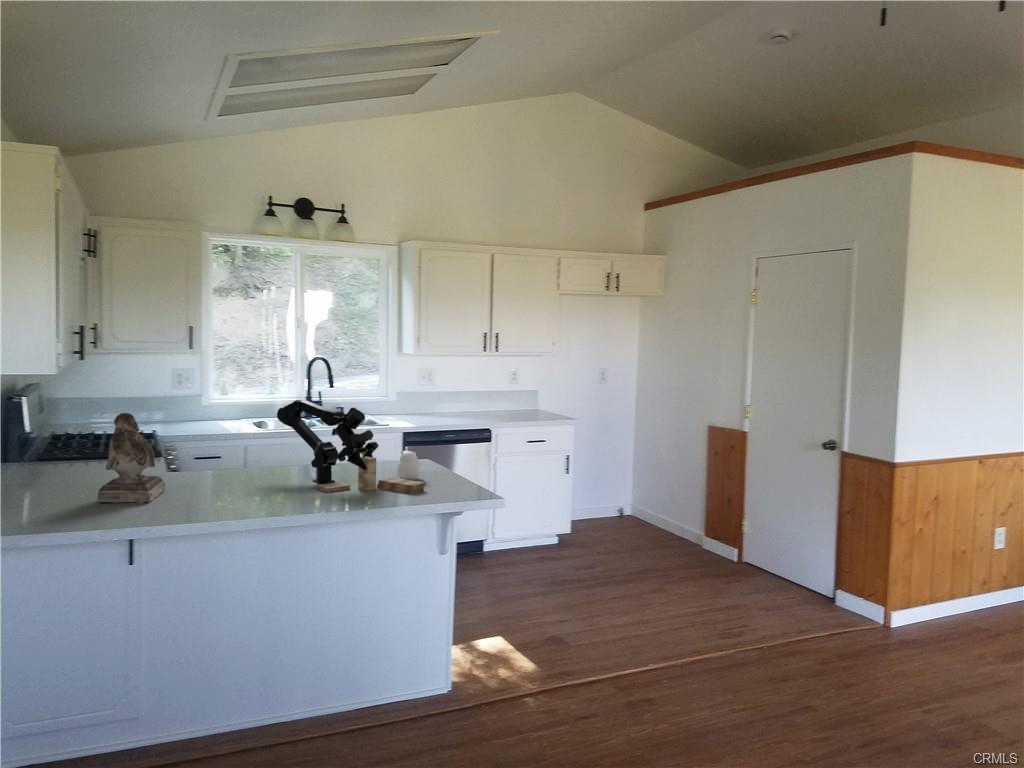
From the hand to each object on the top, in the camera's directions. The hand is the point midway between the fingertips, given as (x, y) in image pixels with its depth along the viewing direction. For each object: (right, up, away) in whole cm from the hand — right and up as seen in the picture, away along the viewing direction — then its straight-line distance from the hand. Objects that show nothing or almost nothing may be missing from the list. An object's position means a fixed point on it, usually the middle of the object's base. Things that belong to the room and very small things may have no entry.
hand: (370, 468), depth 286 cm
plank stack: (+11, -8, +2) cm, 14 cm away
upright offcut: (-2, -8, +1) cm, 8 cm away
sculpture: (-80, -8, -23) cm, 83 cm away
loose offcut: (-14, -8, -1) cm, 16 cm away
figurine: (+12, -7, +20) cm, 24 cm away
